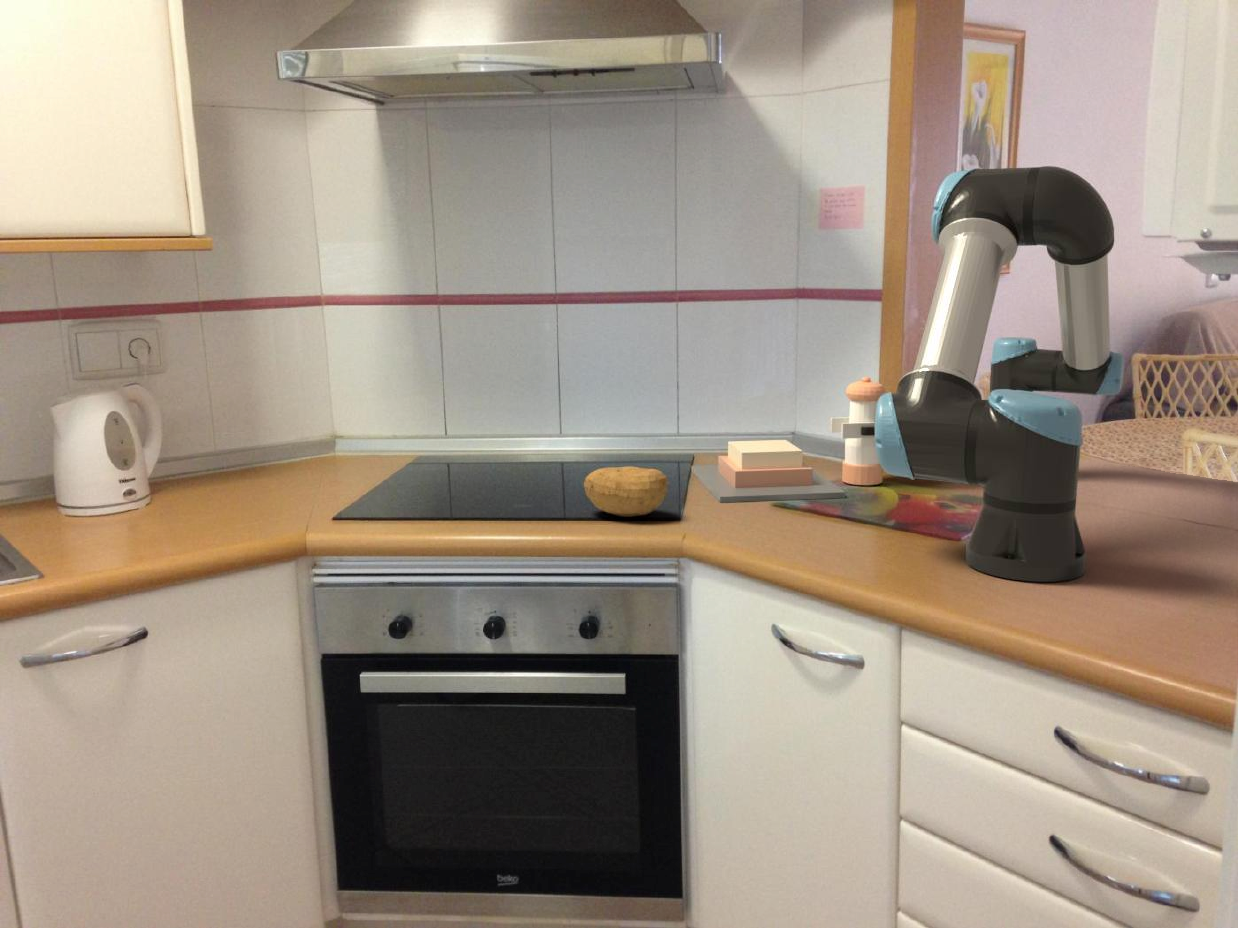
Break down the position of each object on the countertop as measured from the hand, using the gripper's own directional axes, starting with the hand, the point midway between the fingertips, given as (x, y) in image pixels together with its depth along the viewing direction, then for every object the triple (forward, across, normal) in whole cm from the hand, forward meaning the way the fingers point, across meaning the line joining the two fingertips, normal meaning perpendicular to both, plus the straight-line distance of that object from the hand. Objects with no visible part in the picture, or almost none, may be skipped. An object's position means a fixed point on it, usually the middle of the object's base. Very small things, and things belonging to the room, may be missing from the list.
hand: (836, 427), depth 188 cm
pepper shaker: (-5, 0, -10) cm, 11 cm away
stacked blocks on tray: (+13, +2, -10) cm, 17 cm away
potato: (+41, -17, -11) cm, 45 cm away
